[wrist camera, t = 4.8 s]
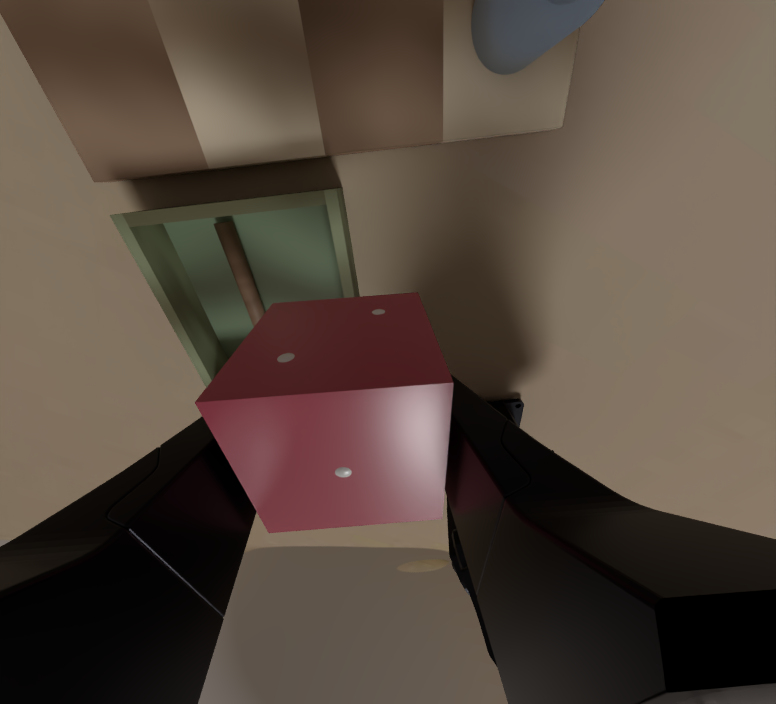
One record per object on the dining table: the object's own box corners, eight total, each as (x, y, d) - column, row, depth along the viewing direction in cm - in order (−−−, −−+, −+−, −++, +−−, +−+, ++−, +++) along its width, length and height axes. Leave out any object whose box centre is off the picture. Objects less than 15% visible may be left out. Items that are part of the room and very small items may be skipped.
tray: (368, 351, 22) (367, 374, 19) (227, 366, 22) (208, 391, 19) (342, 187, 16) (336, 188, 13) (151, 209, 16) (109, 215, 14)
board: (551, 130, 15) (562, 127, 14) (109, 182, 15) (94, 182, 14) (594, -134, 11) (613, -161, 10) (-15, -53, 11) (-47, -73, 10)
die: (418, 401, 11) (442, 521, 7) (304, 410, 11) (268, 535, 7) (417, 290, 9) (454, 382, 5) (272, 301, 9) (191, 402, 5)
